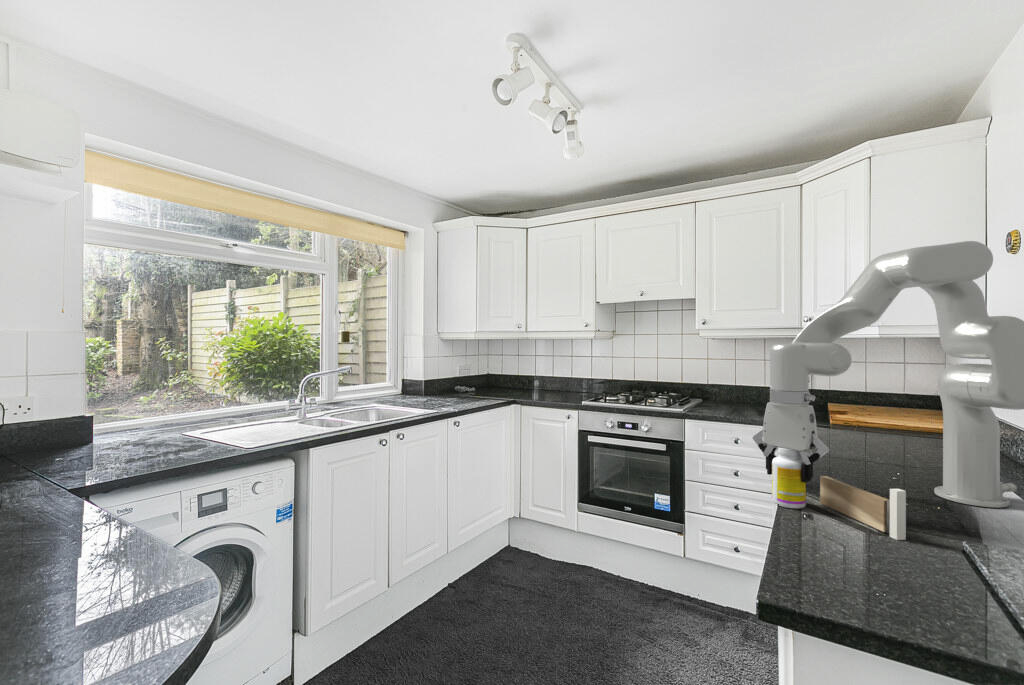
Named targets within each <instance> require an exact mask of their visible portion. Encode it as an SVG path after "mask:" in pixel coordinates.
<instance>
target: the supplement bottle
mask: <svg viewBox="0 0 1024 685" xmlns="http://www.w3.org/2000/svg"><path fill="white" fill-rule="evenodd" d="M776 452H777V455H776V457H775V458H774V459H773V460H772V474H771V501H772V502H773V503H774V504H775V505H777V506H780V507H783V508H786V509H803V508H805V507H806V505H807V482H806V483H804V482H802V481H801V465H802V464H804V461H803V459H802V458H800V456H801V455H800V452H799V451H795V450H791V449H785V448H780V447H777V450H776ZM778 504H779V505H778Z"/></svg>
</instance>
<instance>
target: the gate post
mask: <svg viewBox="0 0 1024 685" xmlns="http://www.w3.org/2000/svg"><path fill="white" fill-rule="evenodd" d="M889 500H890V534H889V538H892V539H893V540H895V541H903V540H904V541H905V540H906V541H907V534H906V533H907V531H906V530H907V506H906V505H907V491H906V490H905V489H900V488H889Z"/></svg>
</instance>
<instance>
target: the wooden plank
mask: <svg viewBox="0 0 1024 685" xmlns="http://www.w3.org/2000/svg"><path fill="white" fill-rule="evenodd" d="M819 487H820V488H819V502H820V504H822V505H824V506H825V507H828V508H830V509H833V510H835V511H837V512H839V513H841V514H844V515H845V516H848V517H850V518H852V519H854V520H856V521H859V522H861V523H862V524H865V525H867V526H870V527H872V528H874V529H877V530H878V531H880V532H883V533H886V534H887V535H890V498H889V499H888V498H886V497H882V496H881V495H878V494H875V493H872V492H870V491H867V490H865V489H862V488H859V487H856V486H854V485H851V484H848V483H845V482H843V481H841V480H837V479H835V478H832V477H830V476H826V475H825V476H823V475H820V476H819Z"/></svg>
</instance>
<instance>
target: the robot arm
mask: <svg viewBox="0 0 1024 685" xmlns="http://www.w3.org/2000/svg"><path fill="white" fill-rule="evenodd" d="M993 263H994V255H993V252H992V251H991V249H990V248H989V247H988V246H987V245H986V244H984V243H982V242H980V241H975V240H966V241H958V242H950V243H944V244H935V245H926V246H919V247H911V248H906V249H902V250H898V251H897V250H896V251H893V252H887V253H884V254H881V255H878V256H876V257H875V258H873V259H872V260H871V261H870V262H869V263H868V265H867V266H866V267H865V268H864V270H862V272H861V273H860V274H859V276H857V278H856V280H855V281H854V283H852V285H851V286H850V287H849V288H848V290H847V291H846V292H845V294H844V295H843V296H842V298H841V299H840V300H838V302H837V303H835V304H834V305H832V306H830V307H829V308H827V309H826V310H825V311H823V312H822V313H821V314H819V315H818V316H817V317H815V318H813V319H812V320H811V321H810V322H809V323H807V324H806V325H805V326H804V328H802V330H800V332H799V333H798V334H797V335H796V336H795V338H794V339H793V341H792V342H791V343H774V344H773V345H772V346H771V347H770V349H769V401H768V402H767V403H766V407H765V412H764V415H763V416H764V417H763V424H762V426H763V427H762V429H761V430H760V431H759V432H758V433H755V435H752V440H753V441H754V443H755V444H756V445H757V447H758V449H760V451H761V453H762V454H763V456H764V457H765V470H766V474H767V475H771V476H772V460H773V459H774V458H775V457H777V455H776V452H777V447H780V448H785V449H791V450H795V451H799V452H800V456H801V460H803V461H804V464H802V465H801V481H802V482H804V483H806V484H807V483H808V482H810V481H812V479H813V477H814V463H816V462H817V461H819V459H821V458H822V457H823V456H824V455H825V454H827V453H828V452H829V451H830V448H829V447H828V445H826V444H825V443H824V442H823V441H822V440H821V439H820V438H819V437H818V426H817V420H816V413H815V410H814V405H812V404H811V405H810V402H815V400H816V396H815V395H814V394H811V393H810V389H809V388H810V387H809V386H810V385H809V381H810V380H809V376H811V375H812V376H813V375H814V376H820V377H838V376H840V375H842V374H844V373H846V371H848V370H849V368H851V365H852V355H851V353H850V351H849V350H848V349H847V348H845V347H844V346H842V345H841V344H838V343H835V341H837V340H838V339H840V338H841V337H844V336H846V335H849V334H851V333H854V332H857V331H859V330H861V329H865V328H866V327H869V326H871V325H873V324H874V323H876V322H878V321H879V320H880V318H882V316H883V315H884V313H885V312H886V311H887V309H888V308H889V306H890V305H892V303H893V302H894V300H895V299H896V298H897V296H898V295H899V294H900V292H901V291H903V290H904V289H910V288H917V287H919V288H921V289H922V290H923V291H925V293H926V294H928V296H929V297H930V298H931V299H932V301H933V304H934V307H935V311H936V319H937V325H938V334H939V336H938V337H939V341H940V346H941V348H942V350H943V352H944V353H945V354H946V355H948V356H950V357H952V358H959V359H972V360H973V359H974V360H976V359H977V360H990V362H991V364H990V363H989V364H988V363H956V364H951V365H950V366H947V367H946V368H944V369H943V370H942V371H941V372H940V374H938V377H937V390H938V394H939V397H940V401H941V407H942V408H941V409H942V419H943V420H942V422H943V423H942V427H943V430H942V457H943V458H942V485H939V486H936V487H934V490H933V491H934V494H935V495H936V496H938V497H941V499H945V500H949V501H951V502H952V501H953V502H955V503H960V504H964V505H970V506H976V507H984V508H994V509H995V508H998V509H999V508H1000V509H1001V508H1007V507H1009V506H1010V499H1009V498H1007V497H1005V496H1004V493H1005V492H1006V493H1014V492H1016V491H1017V489H1018V488H1017V487H1018V486H1016V485H1015V483H1013V482H1007V483H1005V482H1002V481H1001V480H1000V478H1001V476H1000V474H1001V472H1000V470H1001V468H1000V467H1001V465H1000V464H1001V462H1000V461H1001V457H1000V456H1001V455H1000V454H1001V453H1000V451H1001V445H1000V443H1001V426H1000V422H999V419H998V417H997V415H996V414H995V412H994V411H993V409H992V408H995V409H996V408H997V409H1005V410H1011V411H1012V410H1016V411H1019V410H1020V411H1021V410H1024V320H1023V319H1021V318H1020V317H1016V316H1011V315H996V316H995V315H993V316H990V315H989V314H988V313H989V312H988V310H987V304H986V300H985V296H984V292H983V291H982V289H981V288H980V286H979V285H978V284H977V283H976V282H975V281H974V280H977V279H979V278H982V277H983V276H985V275H986V274H987V273H989V271H990V270H991V268H992V266H993ZM815 449H817V451H815V452H814V453H813V452H812V450H815Z"/></svg>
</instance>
